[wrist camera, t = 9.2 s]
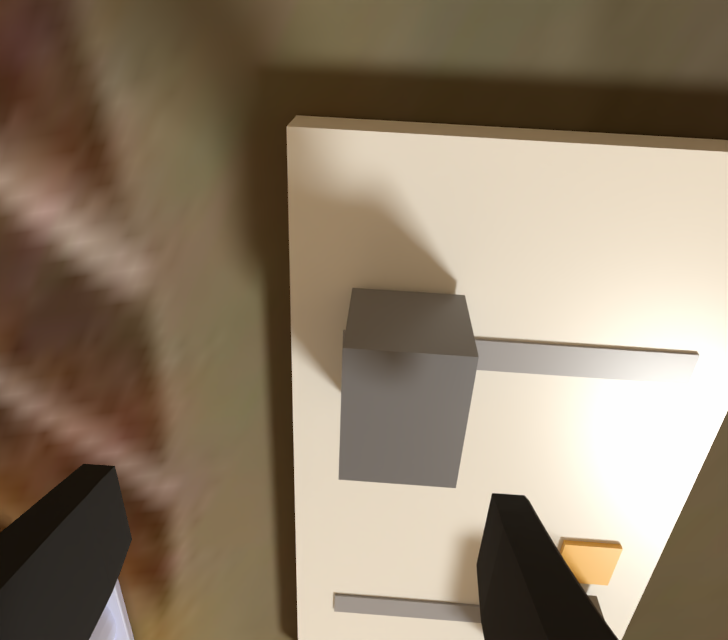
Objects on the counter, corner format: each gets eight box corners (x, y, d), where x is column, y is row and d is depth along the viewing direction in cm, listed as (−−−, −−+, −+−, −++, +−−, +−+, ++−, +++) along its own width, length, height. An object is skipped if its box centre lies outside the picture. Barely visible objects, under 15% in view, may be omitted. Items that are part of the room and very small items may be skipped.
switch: (347, 406, 17) (338, 479, 14) (352, 287, 15) (342, 348, 12) (447, 413, 17) (455, 488, 14) (464, 294, 15) (478, 357, 12)
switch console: (303, 648, 27) (298, 686, 25) (296, 115, 15) (285, 127, 13) (581, 670, 26) (592, 710, 25) (803, 144, 14) (850, 161, 13)
